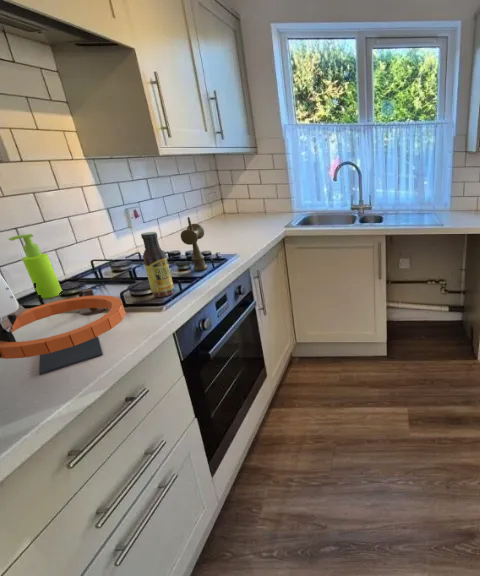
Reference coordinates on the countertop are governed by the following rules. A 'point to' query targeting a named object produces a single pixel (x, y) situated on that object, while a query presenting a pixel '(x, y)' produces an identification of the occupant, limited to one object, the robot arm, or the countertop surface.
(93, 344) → the pad
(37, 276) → the soap dispenser
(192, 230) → the kendama
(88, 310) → the post
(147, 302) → the countertop surface
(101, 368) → the countertop surface
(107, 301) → the ring
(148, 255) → the sauce bottle
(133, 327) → the countertop surface
